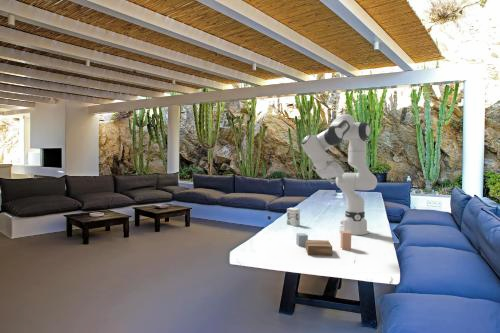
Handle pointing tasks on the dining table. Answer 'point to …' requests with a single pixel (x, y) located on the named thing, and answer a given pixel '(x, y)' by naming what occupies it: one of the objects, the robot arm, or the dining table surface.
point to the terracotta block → (345, 240)
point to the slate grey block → (301, 239)
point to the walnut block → (318, 247)
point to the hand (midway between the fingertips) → (338, 183)
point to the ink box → (293, 216)
